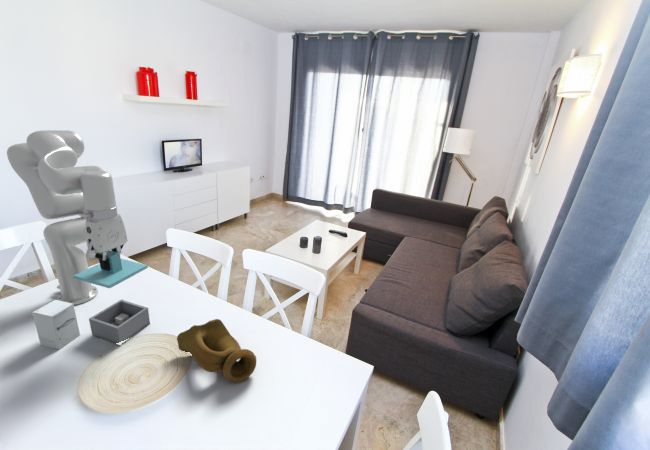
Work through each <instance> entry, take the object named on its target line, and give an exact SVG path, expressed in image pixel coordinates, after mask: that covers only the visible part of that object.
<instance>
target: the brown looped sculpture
mask: <svg viewBox="0 0 650 450" xmlns="http://www.w3.org/2000/svg"><path fill="white" fill-rule="evenodd" d="M176 341H177V347H178V349H179V350H180V351H182V352H183V351H185V352H190V353H191V354H192V356H193V357H192V358H193V359H194V361H195V362H196V363H197V364H198V365H199V367H200V368H202V370H204V371H206V372H210V373H219V372H222V373H223V377H224V378H225V379H226V380H228V381H230V382H233V383H240V382H243V381H245V380H246V379H248V378H249V377H250V376H252V374H253V373H254V371H255V370H256V367H257V357H256V355H255V353H254V352H253V351H252V350H250V349H248V348H244V349H243V348H241V345H240V343H239V342H238V341H237V340H236V339H235V337H233V335H231V334H230V331H229V329H228V328H227V327H226V326H225V324H224V323H223V322H222V320H221V319H219V318H214V319H212V320H208V321H207V322H206V323H204V324H203V323H202V324H200V325H197V324H194V325H192V326H191V327H190V328H189V329H187V330H184V331H182V332H180V333H179V334H178V335H177V338H176ZM185 352H184V353H185Z"/></svg>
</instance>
